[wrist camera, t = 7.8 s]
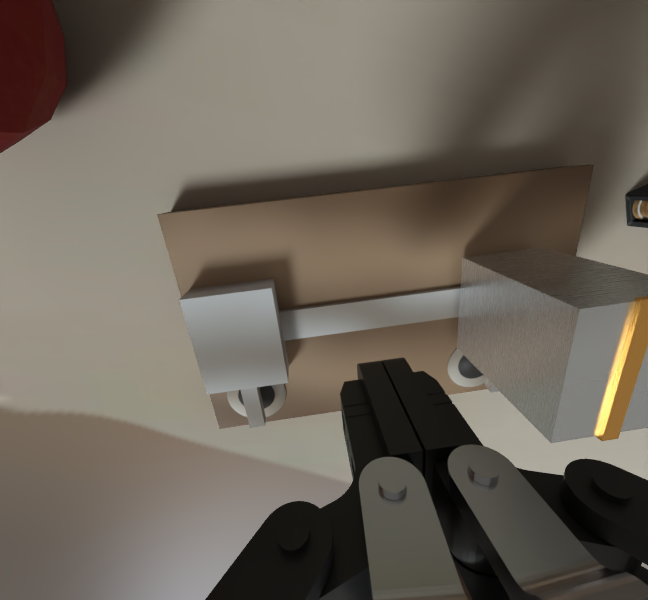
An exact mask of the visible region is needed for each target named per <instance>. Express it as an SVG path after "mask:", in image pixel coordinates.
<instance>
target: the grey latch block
mask: <svg viewBox="0 0 648 600" xmlns="http://www.w3.org/2000/svg"><path fill="white" fill-rule="evenodd" d="M457 349H458V350H459V351H460V352H461V353H462V354H463V355H464V356H465V357H466V358H467V359H468V360H469V361H470V362H471V363H472V364H473V365H474V366H475V367H476V368H477V369H478V370H479V371H480V372H481V373H482V374H483V375H484V376H485V377H486V379H485V386H486V387H487V388H488V389H489V391H490V392H497V391H500V392H501V393H502V394H503V395H504V396H505V397H506V398H507V399H508V400H509V401H510V402H511V403H512V404H513V405H514V406H515V407H516V408H517V409H518V410H519V411H520V412H521V413H522V414H523V415H524V416H525V417H526V418H527V419H528V420H529V421H530V422H531V423H532V424H533V425H534V426H535V427H536V428H537V429H538V430H539V431H540V432H541V433H542V434H543V435H544V436H545V438H546V439H547V440H548V441H549V442H550V443H554V442H561V441H567V440H573V439H579V438H586V437H592V436H596V437H597V438H598V439H600V440H601V441H605V440H612V439H618V437H619V434H620V432H623V431H630V430H636V429H642V428H648V275H647V274H644V273H640V272H636V271H632V270H628V269H624V268H620V267H616V266H612V265H608V264H605V263H601V262H597V261H593V260H589V259H585V258H581V257H577V256H573V255H569V254H566V253H562V252H558V251H554V250H550V249H546V248H534V249H526V250H518V251H510V252H502V253H495V254H487V255H479V256H471V257H463V258H462V272H461V289H460V305H459V322H458V338H457Z"/></svg>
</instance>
